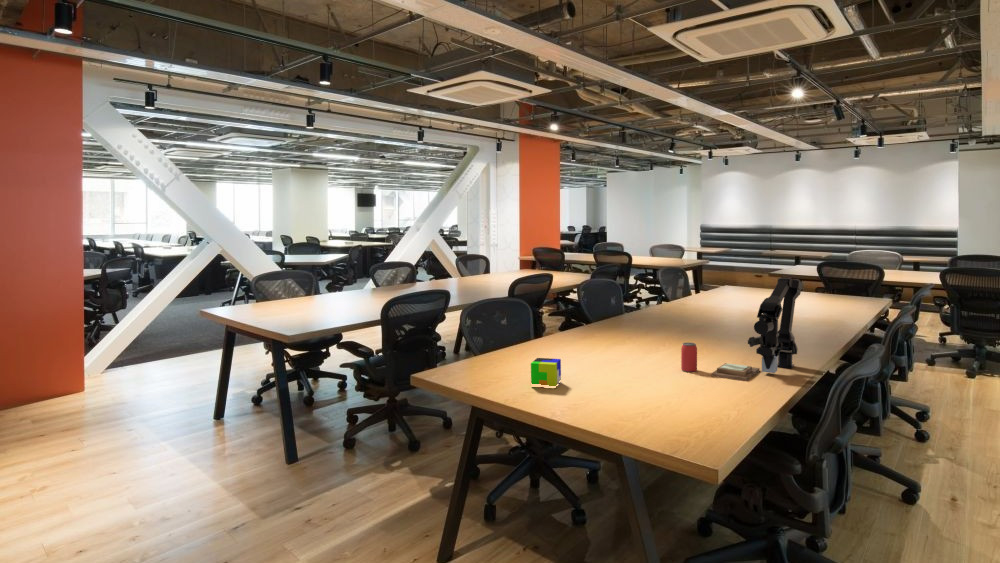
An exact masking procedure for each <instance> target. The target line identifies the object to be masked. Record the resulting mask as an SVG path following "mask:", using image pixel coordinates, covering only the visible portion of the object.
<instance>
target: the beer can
mask: <svg viewBox="0 0 1000 563" xmlns="http://www.w3.org/2000/svg"><path fill="white" fill-rule="evenodd" d="M680 352H681V356H680V358H681V361H680V362H681V364H680V365H681V371H682V372H686V373H695V372H697V371H698V347H697V344H696V343H695V342H683V343H682V345H681V351H680Z"/></svg>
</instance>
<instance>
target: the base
mask: <svg viewBox="0 0 1000 563" xmlns="http://www.w3.org/2000/svg"><path fill="white" fill-rule="evenodd" d="M759 372H760V367H755V366H751V365H750V366H749V365H744V364H737V363H735V364H734V363H723V364H721V365H719V366H718V367H716V370H714V371H713V372H711V373H710V375H711V377H713V378H714V377H715V378H723V379H729V380H730V379H731V380H737V381H743V382H747V381H748V380H749V379H751V378H752V377H753V376H755V375H756V374H758V373H759Z"/></svg>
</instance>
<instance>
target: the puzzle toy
mask: <svg viewBox="0 0 1000 563" xmlns="http://www.w3.org/2000/svg"><path fill="white" fill-rule="evenodd" d="M561 361H562V360H561V358H547V357H546V358H545V357H537V358H536V359H534V360H533V361H532V362H531V363H530V384H531V383H532V384H541V385H549V386H556V385H557V384H558V383H559V381H560V380H561V381H562V367H561V366H562V362H561Z"/></svg>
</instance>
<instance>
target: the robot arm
mask: <svg viewBox="0 0 1000 563" xmlns="http://www.w3.org/2000/svg"><path fill="white" fill-rule="evenodd" d="M803 286H804V284H803V281H801V280H800V279H797V278H795V279H794V278H790V277H778V279H777V284H776V285H775V287H774V289H773V290H772V292H771V294H770V295H769V296H768V297H766V298H764V300H763V301H762V302H761V303H760V305H759V308H758V312H757V315H756V318H757V319H758V320H757V321H756V322H755V323H754V325H753V329H754V331H755V333H757V334H758V335H759V336H751V337H749V338H748V339H747V344H748V345H749V347H750V348H753V347H755V346H758V347H757V348H756V354H757V355H760V356H761V357H763V358H764V361H765V365H766V368H767V369H770V366H771V364H772V361H773V359H774V357H778V366H777V368H784V369H793V368H794V367H795V364H793V356H794V355H798V346H797V342H796V341H795V336H794V334H793V331H792V329H793V321H794V314H795V304H796V300H797V299H798V298H799V296H800V295H801V292H802V290H803ZM782 301H783V302H782ZM780 316H781V318H780ZM779 319H780V324H779ZM779 325H780V326H779Z"/></svg>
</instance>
